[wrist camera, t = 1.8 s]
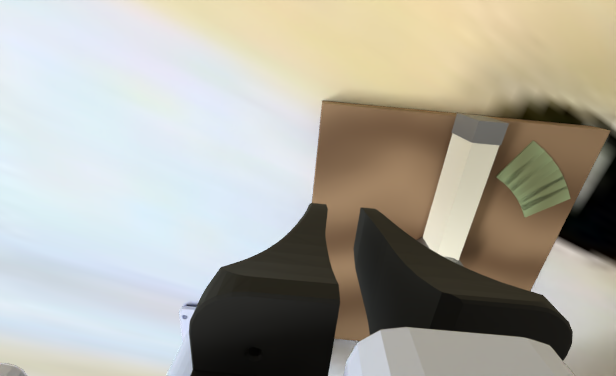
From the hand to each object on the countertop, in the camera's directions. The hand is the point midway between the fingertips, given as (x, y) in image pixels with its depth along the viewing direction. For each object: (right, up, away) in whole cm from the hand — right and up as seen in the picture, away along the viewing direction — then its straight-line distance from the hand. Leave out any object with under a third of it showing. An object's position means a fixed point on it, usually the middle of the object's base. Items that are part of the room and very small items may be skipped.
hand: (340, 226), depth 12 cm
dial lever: (+8, +1, +8) cm, 11 cm away
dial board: (+8, -3, +11) cm, 14 cm away
